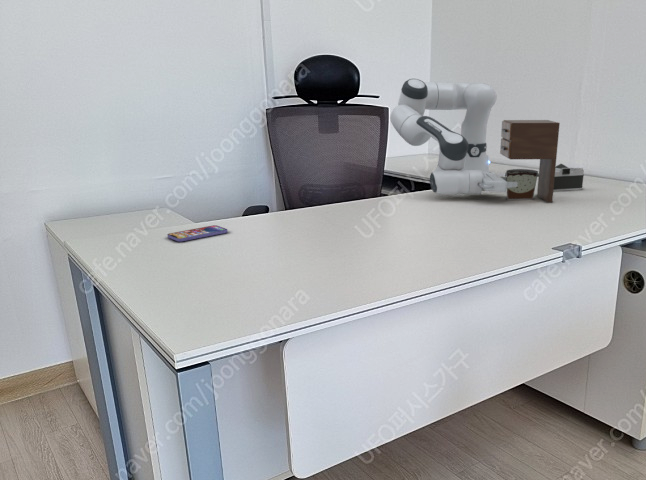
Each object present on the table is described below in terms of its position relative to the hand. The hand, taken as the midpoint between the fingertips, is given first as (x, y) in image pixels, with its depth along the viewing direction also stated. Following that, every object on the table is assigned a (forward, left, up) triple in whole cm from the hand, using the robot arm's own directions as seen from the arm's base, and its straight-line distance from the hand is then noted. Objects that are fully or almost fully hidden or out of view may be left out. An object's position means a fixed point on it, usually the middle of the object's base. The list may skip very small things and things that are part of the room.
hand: (513, 181), depth 213 cm
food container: (-1, +2, -6) cm, 7 cm away
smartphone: (+49, -100, -6) cm, 111 cm away
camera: (-19, +24, -6) cm, 31 cm away
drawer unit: (+1, +4, -6) cm, 7 cm away
